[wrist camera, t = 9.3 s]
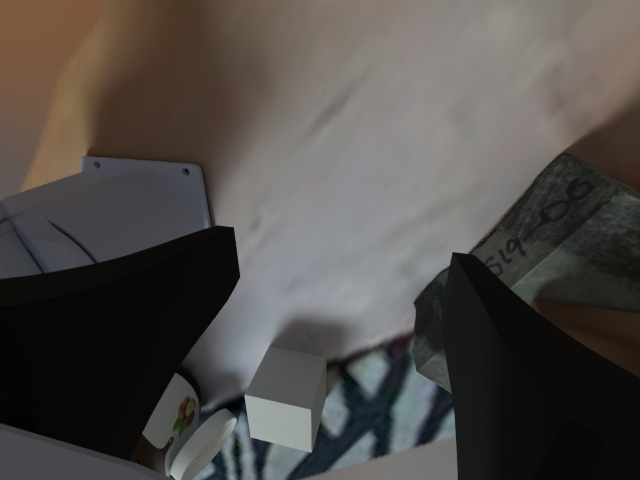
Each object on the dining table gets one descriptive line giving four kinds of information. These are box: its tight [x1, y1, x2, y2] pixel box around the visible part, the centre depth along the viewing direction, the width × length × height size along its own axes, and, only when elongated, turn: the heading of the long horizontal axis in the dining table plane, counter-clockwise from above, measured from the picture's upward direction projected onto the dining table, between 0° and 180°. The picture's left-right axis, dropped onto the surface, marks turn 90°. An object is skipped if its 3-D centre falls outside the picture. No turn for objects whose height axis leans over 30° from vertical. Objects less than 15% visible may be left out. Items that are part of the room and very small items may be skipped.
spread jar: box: [129, 366, 237, 480], centre depth 30 cm, size 12×11×12 cm
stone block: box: [412, 153, 640, 393], centre depth 19 cm, size 9×14×5 cm, turn 154°
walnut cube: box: [531, 299, 640, 377], centre depth 15 cm, size 5×5×5 cm
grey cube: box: [245, 346, 327, 453], centre depth 28 cm, size 5×5×5 cm
